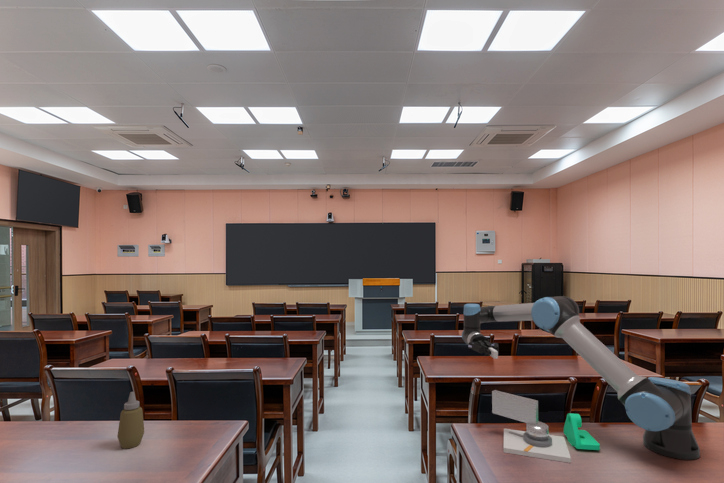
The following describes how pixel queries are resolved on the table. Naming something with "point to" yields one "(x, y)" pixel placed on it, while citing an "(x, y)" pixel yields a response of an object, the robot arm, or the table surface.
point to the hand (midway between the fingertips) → (495, 355)
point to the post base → (536, 446)
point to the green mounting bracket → (578, 434)
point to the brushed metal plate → (520, 413)
